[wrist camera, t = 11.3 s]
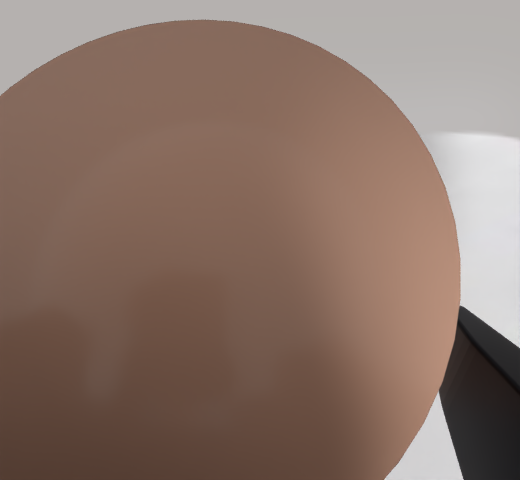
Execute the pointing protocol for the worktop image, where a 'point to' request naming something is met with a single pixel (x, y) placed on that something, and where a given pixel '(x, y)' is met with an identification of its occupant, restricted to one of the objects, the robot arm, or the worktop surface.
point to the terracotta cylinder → (216, 263)
